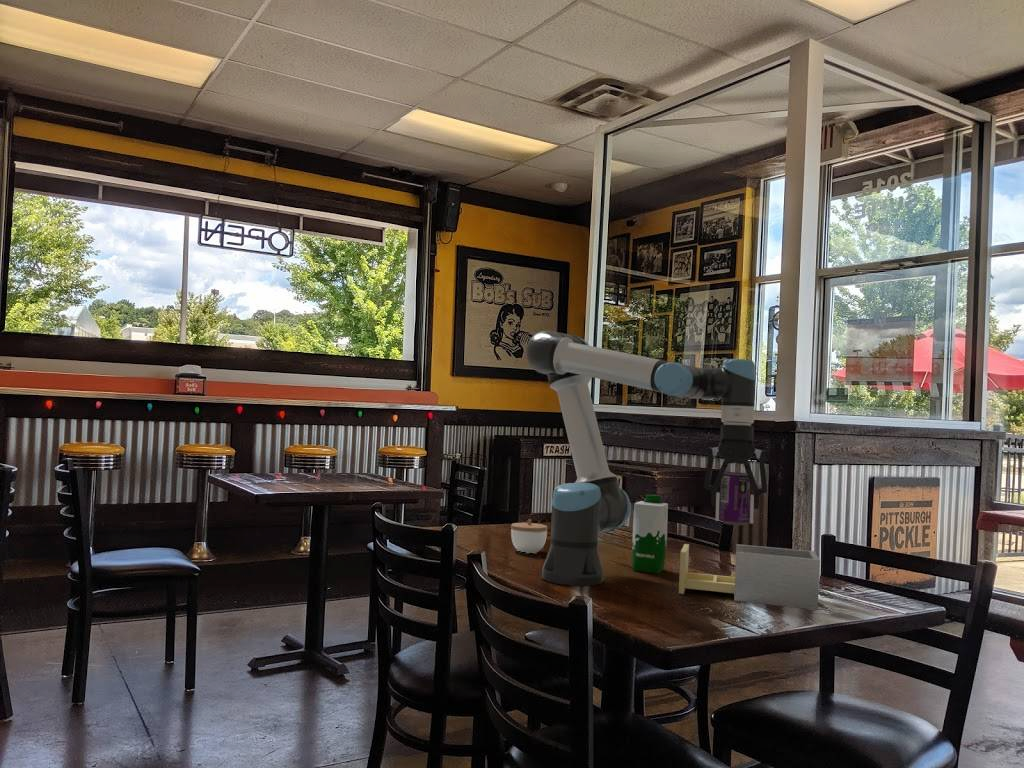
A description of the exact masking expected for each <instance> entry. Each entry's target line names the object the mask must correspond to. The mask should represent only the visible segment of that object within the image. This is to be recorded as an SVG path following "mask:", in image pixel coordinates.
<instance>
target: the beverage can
mask: <svg viewBox="0 0 1024 768" xmlns="http://www.w3.org/2000/svg"><path fill="white" fill-rule="evenodd" d="M723 474H724V475H723V477H722V479H721V482H720V485H719V492H720V502H719V522H721V523H723V524H725V525H729V526H745V525H747V524H750V498H751V494H752V493H751V492H752V487H751V484H750V480H749V478H748V474H747V472H736V471H735V472H734V471H725V473H723Z"/></svg>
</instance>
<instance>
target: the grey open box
mask: <svg viewBox="0 0 1024 768" xmlns="http://www.w3.org/2000/svg"><path fill="white" fill-rule="evenodd" d="M820 561H821V560H820V558H819V557H818V555H817V553H816V552H815V551H814V550H805V549H803V550H802V549H794V548H783V547H771V546H762V545H761V546H760V545H749V544H738V543H736V544H735V564H734V565H735V568H734V571H735V572H734V577H735V593H733V597H734V598H733V599H734V600H733V601H734V602H742V603H751V604H761V605H771V606H779V607H787V608H788V607H789V608H796V607H797V609H805V608H806V609H807V610H816V611H818V610H819V591H820V590H819V588H820V587H819V585H820V565H821V564H820V563H821V562H820Z"/></svg>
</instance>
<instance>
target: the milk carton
mask: <svg viewBox="0 0 1024 768" xmlns="http://www.w3.org/2000/svg"><path fill="white" fill-rule="evenodd" d="M633 504H634V509H633V522H632V523H633V524H632V546H631V548H632V549H631V555H632V557H631V558H632V560H631V561H632V564H631V565H632V571H634V572H642V573H651V574H659V573H661V572H662V571H664V569H665V563H666V562H665V561H666V556H667V555H666V554H667V543H668V542H667V541H668V518H669V517H668V512H669V511H668V509H669V504H668V503H665V502H661V495H660V494H651V493H650V494H645V499H644V500H640V501H636V502H634V503H633Z"/></svg>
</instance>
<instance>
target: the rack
mask: <svg viewBox="0 0 1024 768" xmlns="http://www.w3.org/2000/svg"><path fill="white" fill-rule="evenodd" d="M689 552H690V544H688V543H684V544H683V546H682V548H681V550H680V559H679V577H678V578H679V580H678V582H679V583H678V594H679V595H680V594H681V595H685V592H686V589H689V590H698V591H699V590H700V591H707V592H709V591H710V592H717V593H725V594H727V593H728V594H734V593H735V576H729V575H728V576H727V575H719V574H710V573H699V572H691V571H690V572H689V556H690V553H689Z"/></svg>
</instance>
